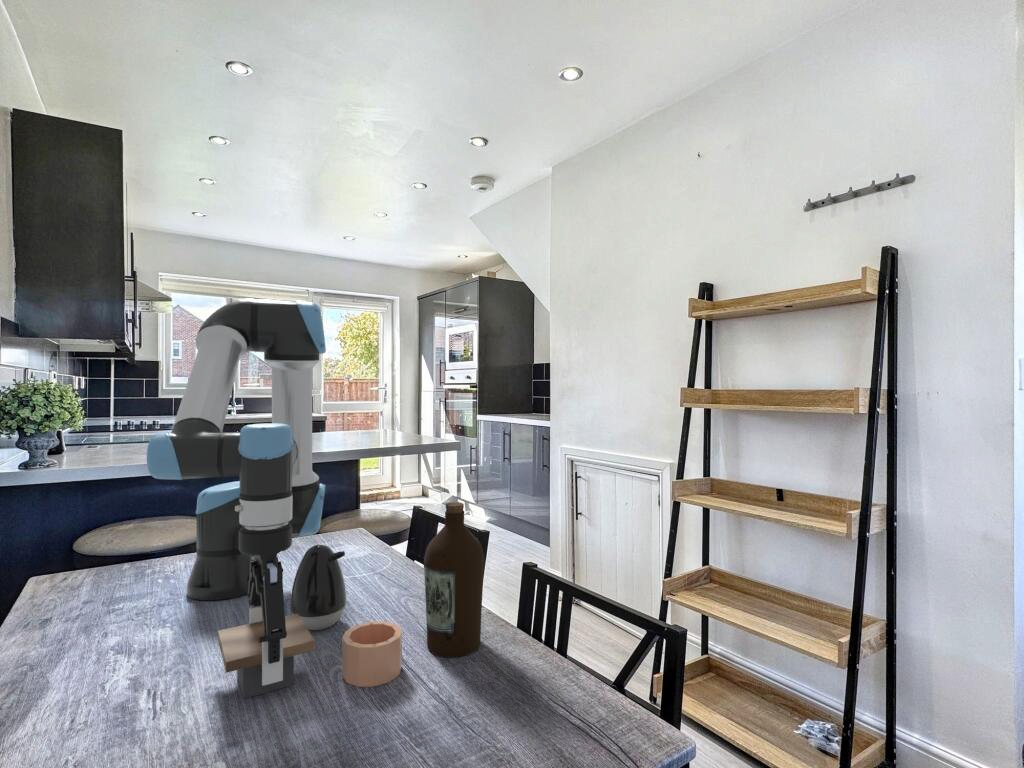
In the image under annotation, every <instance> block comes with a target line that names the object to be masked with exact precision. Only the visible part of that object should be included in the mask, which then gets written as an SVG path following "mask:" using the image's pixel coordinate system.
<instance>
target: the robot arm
mask: <svg viewBox="0 0 1024 768" xmlns="http://www.w3.org/2000/svg"><path fill="white" fill-rule="evenodd" d="M195 348H196V349H197V352H196V356H195V359H194V362H193V365H192V368H191V370H190V371H191V372H190V374H189V378H188V381H187V383H186V386H185V389H184V392H183V396H182V399H181V400H180V405H179V407H178V410H177V414H176V417H175V420H174V422H173V424H172V428H171V432H162V433H156V434H154V435H153V436H152V437H151V438H150V440H149V441H148V445H147V448H146V465H147V466H146V467H147V470H148V472H149V474H150V476H151V477H152V478H154V479H157V480H178V481H182V480H190V479H191V480H192V479H193V480H194V479H208V478H209V479H210V478H236V477H237V478H239V480H238V481H231V482H226V483H225V482H224V483H220V484H217V485H213V486H210V487H207V488H205V489H203V490H202V491H201V492H199V493H198V495H197V499H196V500H197V501H196V510H195V514H196V555H195V557H196V558H195V560H194V563H193V566H192V568H191V571H190V575H189V578H188V580H187V584H186V595H187V597H189V598H190V599H194V600H197V601H222V600H228V599H233V598H237V597H241V596H244V595H247V597H248V599H249V600H248V604H249V606H250V607H249V624H251V623H256V622H261V621H263V630H264V636H263V637H260V638H259V643H261V642H262V685H263V686H264V685H268V684H271V683H275V682H279V681H282V680H283V638H286V636H287V631H286V624H285V616H286V613H285V612H286V610H285V599H284V598H285V596H284V582H283V580H284V579H283V578H284V576H283V575H284V567H283V565H282V561H279V557H278V554H280V553H281V552H284V551H287V550H288V549H290V548H291V547H292V544H293V538H294V537H295V538H300V537H306V536H312V535H315V534H317V532H319V530H320V528H321V521H322V514H323V507H324V500H325V495H326V494H325V493H326V484H323V483H320V477H319V475H318V474H317V473H316V472H314V471H313V368H314V367H315V366H316V365H317V364H318V363H319V362H320V354H321V355H322V354H325V353H326V352H327V349H326V348H327V347H326V337H325V331H324V323H323V318H322V311H321V308H320V306H319V305H318V304H317V303H315V302H311V301H303V300H298V299H297V300H285V299H281V300H280V299H263V298H262V299H261V298H260V299H259V298H258V299H257V298H256V299H255V298H241V299H237V300H235V301H231V302H229V303H227V304H224V305H223V306H221V307H220V308H218V309H216V310H215V311H214V312H213V313H211V315H209V317H207V318H206V319H205V320H204V321H203V323H202V324H201V325H200V327H199V330H198V332H197V335H196V337H195ZM248 352H254V353H263V361H264V362H265V363H266V364H267V365H268V366H270V368H271V423H270V422H269V423H267V422H266V423H253V424H247V425H244V426H242V428H241V429H240V431H237V432H236V431H235V432H233V431H232V432H231V431H230V432H225V431H223V429H224V426H225V421H226V418H227V417H226V416H227V412H228V408H229V403H230V400H231V395H232V391H233V388H234V383H235V380H236V379H235V378H236V374H237V370H238V366H239V362H240V361H241V360H242V359H243V358H244V357H245V355H246V354H247V353H248ZM277 629H278V630H277ZM273 630H274V631H273Z"/></svg>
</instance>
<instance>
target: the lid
mask: <svg viewBox="0 0 1024 768" xmlns="http://www.w3.org/2000/svg"><path fill="white" fill-rule="evenodd" d="M285 624H286V631H287V636H286V638H283V658H287V657H291V656H294V657H295V656H298V655H302V654H307V653H310V652H311V653H312V652H315V650H316V649H315V648H316V646H315V645H316V641H315V639H314V636H313V635H312V634H311V632H310V630H308V629H307V627H306V626H305V624H304V623H303V621H302V620H301V618H300V616H299V615H298V614H293V615H292V614H289V615H288V614H287V615H285ZM277 630H278V629H277ZM273 631H274V630H273ZM263 636H264V630H263V621H261V622H256V623H251V624H250V623H246V624H241V625H237V626H233V627H228V628H224V629H223V628H222V629H219V630H217V642H218V646H219V649H220V653H221V658H222V662H223V666H224V670H225V673H226V674H227V673H231V672H235V671H236V672H237V670H240V669H243V668H247V667H251V666H255V665H259V664H262V642H261V643H259V638H260V637H263Z"/></svg>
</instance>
